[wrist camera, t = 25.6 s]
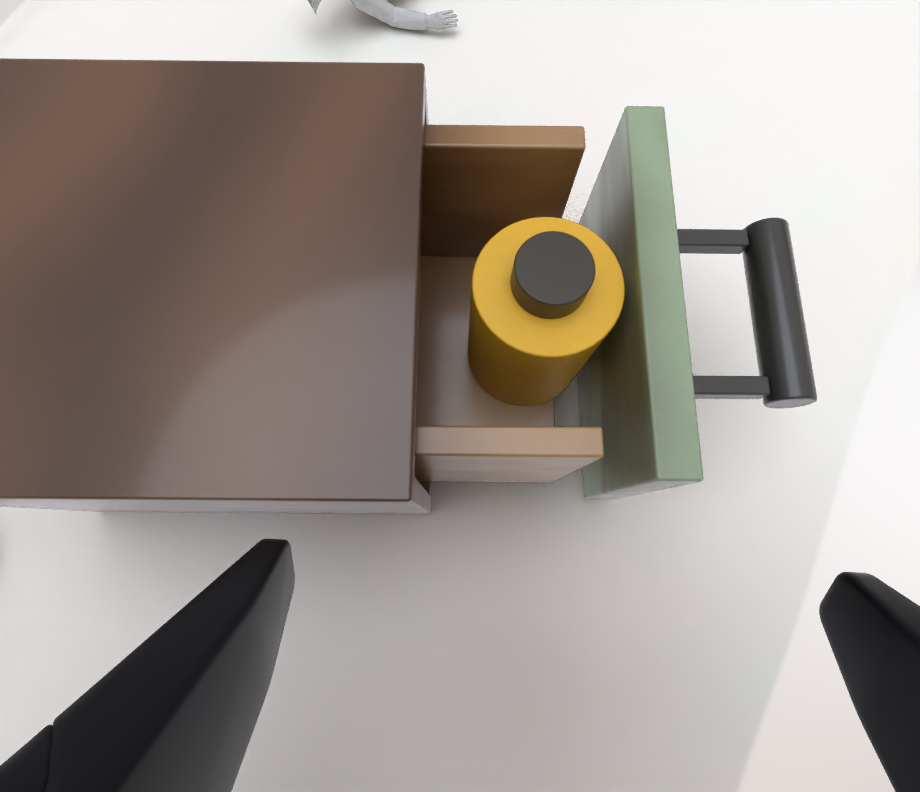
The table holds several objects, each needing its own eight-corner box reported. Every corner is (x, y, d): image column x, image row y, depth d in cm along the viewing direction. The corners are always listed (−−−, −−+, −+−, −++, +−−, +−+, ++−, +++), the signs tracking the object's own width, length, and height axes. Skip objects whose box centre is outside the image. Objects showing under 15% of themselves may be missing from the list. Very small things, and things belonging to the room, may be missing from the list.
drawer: (704, 242, 23) (821, 107, 16) (734, 500, 20) (894, 482, 13) (317, 238, 23) (251, 100, 16) (296, 496, 20) (204, 477, 13)
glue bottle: (569, 416, 20) (625, 359, 13) (457, 393, 20) (457, 325, 14) (586, 312, 21) (646, 211, 14) (479, 291, 21) (490, 182, 15)
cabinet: (436, 238, 24) (424, 62, 15) (430, 514, 21) (411, 501, 12) (145, 235, 24) (-45, 56, 15) (96, 511, 21) (-178, 497, 12)
